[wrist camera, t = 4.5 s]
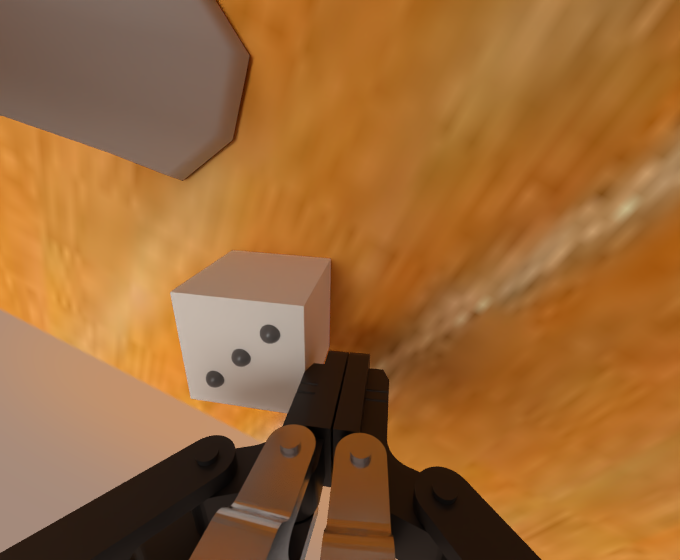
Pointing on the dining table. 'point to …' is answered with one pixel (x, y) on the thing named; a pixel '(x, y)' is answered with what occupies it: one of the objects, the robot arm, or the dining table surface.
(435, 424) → the dining table surface
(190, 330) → the die
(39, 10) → the flask
